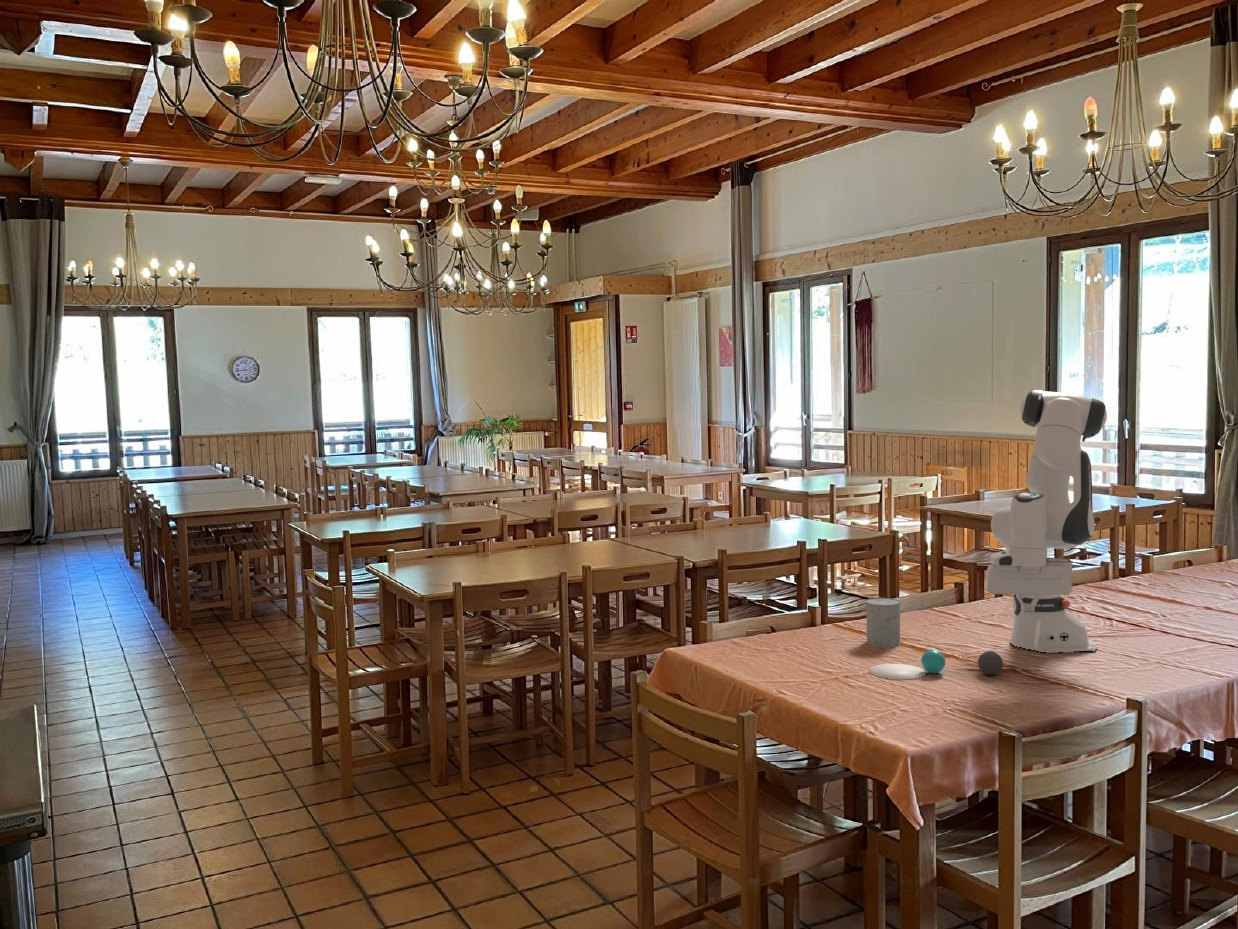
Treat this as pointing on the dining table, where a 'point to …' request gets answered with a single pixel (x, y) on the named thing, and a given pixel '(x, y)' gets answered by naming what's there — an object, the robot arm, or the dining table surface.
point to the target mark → (897, 671)
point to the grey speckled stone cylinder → (883, 622)
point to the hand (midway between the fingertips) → (1027, 611)
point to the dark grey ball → (990, 663)
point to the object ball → (933, 661)
